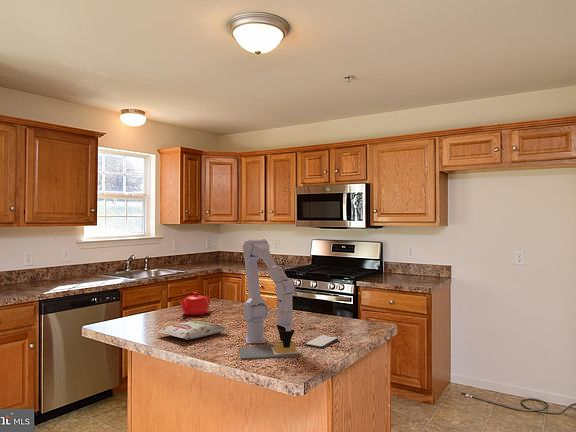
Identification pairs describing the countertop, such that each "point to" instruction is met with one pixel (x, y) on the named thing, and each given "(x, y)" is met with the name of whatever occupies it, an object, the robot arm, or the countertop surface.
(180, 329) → the frozen beans
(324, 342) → the phone case
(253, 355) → the mat
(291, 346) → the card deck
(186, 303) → the teapot
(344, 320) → the countertop surface
